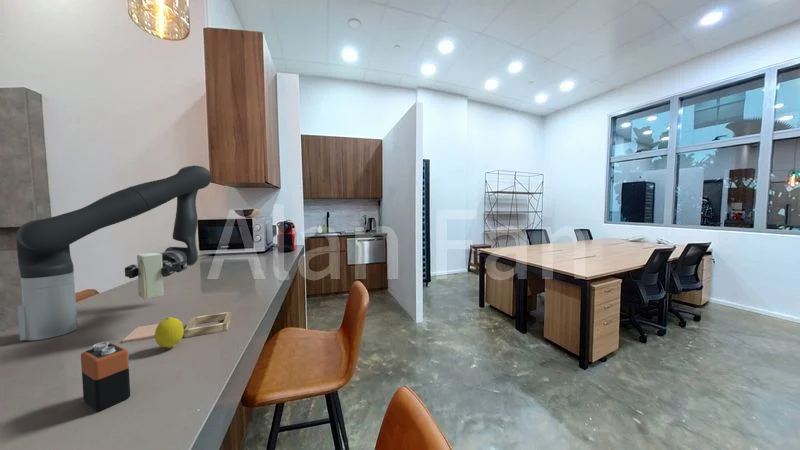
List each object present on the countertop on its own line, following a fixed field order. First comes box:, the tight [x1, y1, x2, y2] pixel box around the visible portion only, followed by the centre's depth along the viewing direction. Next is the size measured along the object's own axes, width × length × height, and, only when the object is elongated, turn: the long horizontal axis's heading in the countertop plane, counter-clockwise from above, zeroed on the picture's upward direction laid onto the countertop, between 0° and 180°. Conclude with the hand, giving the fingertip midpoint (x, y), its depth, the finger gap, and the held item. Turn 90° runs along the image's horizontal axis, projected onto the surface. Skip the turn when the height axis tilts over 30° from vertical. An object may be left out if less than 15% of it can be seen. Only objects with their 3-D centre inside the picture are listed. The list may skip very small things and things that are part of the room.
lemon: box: [154, 316, 185, 349], centre depth 68 cm, size 6×6×8 cm
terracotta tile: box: [121, 323, 159, 344], centre depth 78 cm, size 10×10×1 cm
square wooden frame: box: [183, 311, 232, 339], centre depth 80 cm, size 10×11×2 cm
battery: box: [80, 341, 131, 412], centre depth 49 cm, size 4×7×10 cm, turn 63°
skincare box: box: [136, 251, 164, 300], centre depth 77 cm, size 6×4×12 cm
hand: (147, 273), depth 75 cm, fingers closed on skincare box, 6 cm apart
